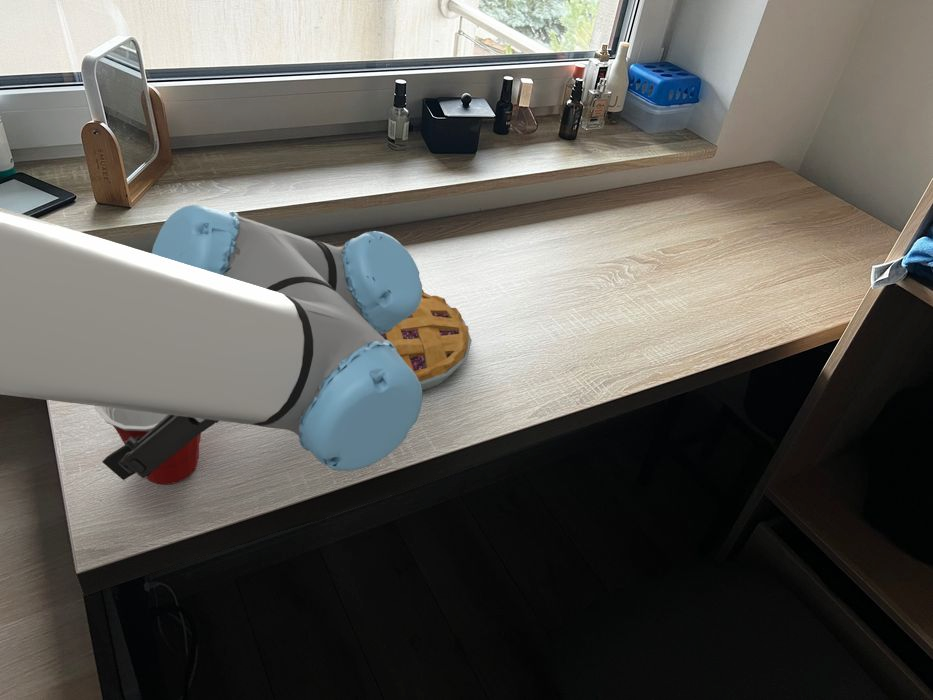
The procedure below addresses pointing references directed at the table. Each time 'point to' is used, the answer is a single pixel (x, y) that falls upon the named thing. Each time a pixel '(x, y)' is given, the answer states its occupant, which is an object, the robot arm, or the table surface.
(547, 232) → the table surface
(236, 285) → the robot arm
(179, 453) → the plastic cup
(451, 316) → the pie
